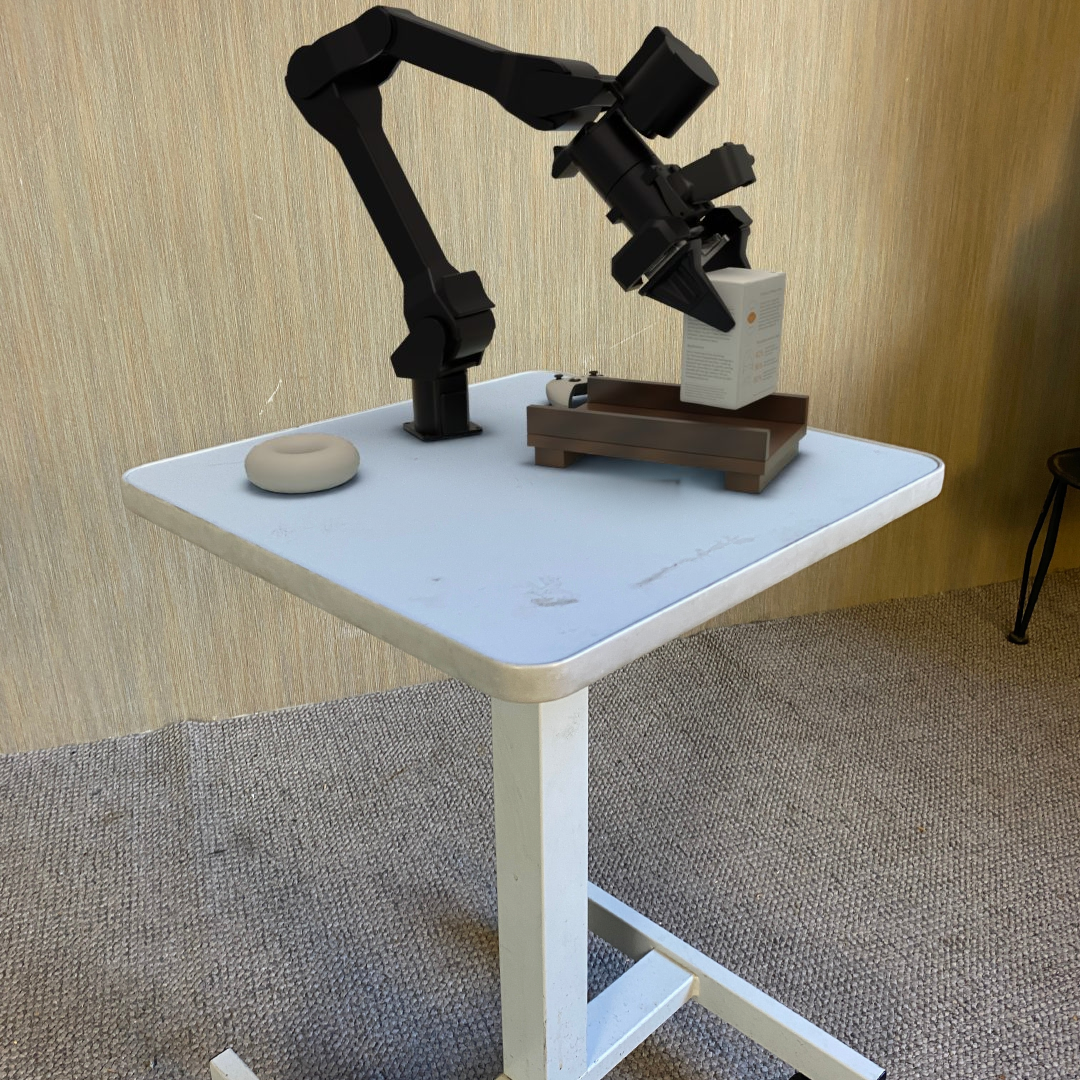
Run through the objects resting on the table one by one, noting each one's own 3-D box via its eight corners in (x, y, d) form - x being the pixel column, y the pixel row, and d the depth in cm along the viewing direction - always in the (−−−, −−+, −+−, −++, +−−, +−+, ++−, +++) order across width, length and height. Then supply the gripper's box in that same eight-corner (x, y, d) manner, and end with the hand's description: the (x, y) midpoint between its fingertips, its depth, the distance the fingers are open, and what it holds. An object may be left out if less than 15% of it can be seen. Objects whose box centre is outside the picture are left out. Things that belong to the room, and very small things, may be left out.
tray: (527, 465, 96) (526, 406, 94) (591, 428, 107) (591, 375, 105) (763, 496, 86) (767, 432, 84) (805, 453, 98) (809, 395, 96)
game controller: (562, 408, 111) (543, 362, 113) (546, 435, 116) (528, 390, 118) (639, 397, 115) (619, 353, 117) (620, 423, 120) (601, 380, 122)
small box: (721, 384, 96) (729, 266, 92) (778, 392, 92) (788, 271, 89) (677, 401, 90) (682, 276, 86) (736, 411, 87) (744, 281, 83)
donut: (317, 506, 86) (383, 470, 95) (313, 466, 85) (380, 433, 94) (222, 491, 90) (293, 458, 99) (216, 453, 89) (289, 423, 98)
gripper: (651, 105, 77) (787, 267, 76) (737, 108, 92) (851, 243, 91) (557, 214, 83) (681, 365, 82) (651, 200, 98) (757, 327, 97)
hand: (748, 321), depth 88 cm, fingers closed on small box, 8 cm apart
